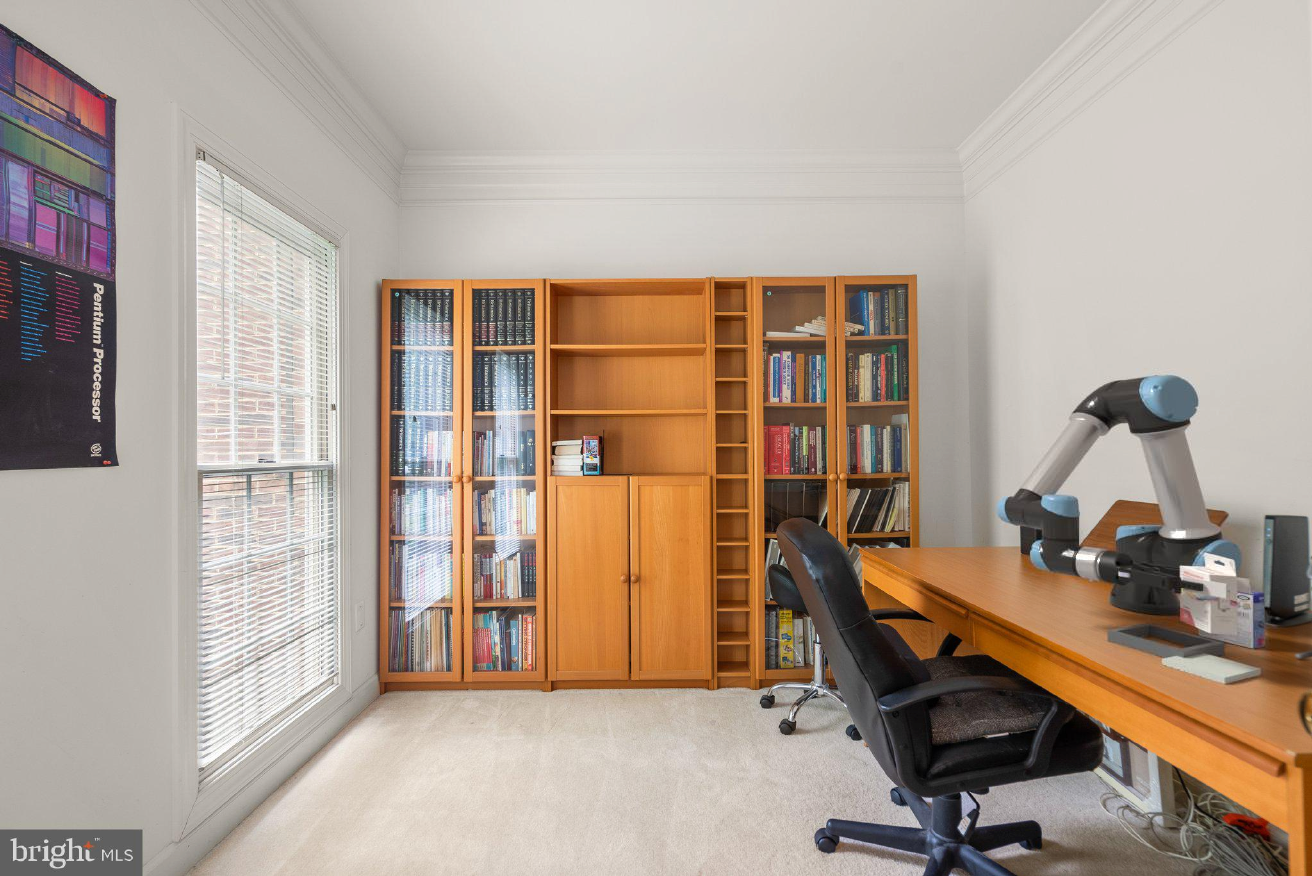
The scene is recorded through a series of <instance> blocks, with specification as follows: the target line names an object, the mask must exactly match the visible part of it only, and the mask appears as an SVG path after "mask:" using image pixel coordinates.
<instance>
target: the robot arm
mask: <svg viewBox="0 0 1312 876" xmlns="http://www.w3.org/2000/svg"><path fill="white" fill-rule="evenodd" d="M1197 407H1199V396H1198V393H1197V391H1196V390H1195V388H1194V387H1193V384H1191V383H1190V382H1189V381H1188V380H1187V379H1185V378H1182V377H1180V376H1177V375H1173V374H1172V375H1170V374H1165V375H1161V374H1159V375H1157V374H1155V375H1148V376H1143V377H1135V378H1128V379H1119V380H1113V381H1109V382H1107V383H1105V384H1102V385H1101V386H1099V387H1098V388H1096V389H1094V390H1093V391H1092V392H1091V393H1089V395H1086V397H1085V398H1084V399H1083V400H1081V402H1080V403H1079V404H1078V405H1077V406H1076V407H1075V408H1074V410H1072V412H1071V413H1070V415H1069V417H1068V420H1069V423H1068V424H1067V426H1066V427H1065V429H1064V430H1063V431H1062V432H1061V433H1060V435H1059V436H1058V438H1057V439H1056V440H1055V442H1053V444H1052V446H1051V447H1050V448H1049V450H1048V451H1047V452H1046V453H1045V454H1044V456H1043V457H1042V458H1041V460H1040V461H1039V463H1038V464H1037V465H1036V467H1035V468H1034V469H1033V470H1032V472H1031V473H1030V474H1029V476H1028V477H1027V478H1026V479H1025V481H1024V482H1023V483H1022V485H1020V487H1019V489H1018V490H1017V491H1016V492H1015V494H1014V495H1013V496H1012V495H1011V496H1006V497H1003V498H1001V499H1000V500H999V501H998V502H997V505H996V514H997V516H998V517H999V519H1000V520H1001V521H1002V522H1004V523H1006V524H1010V525H1014V526H1016V527H1017V526H1021V527H1026V528H1031V529H1036V530H1041V539H1038V540H1036V541H1035V542H1033V543H1032V545H1031V550H1030V551H1029V552H1030V553H1029V556H1030V557H1029V559H1030V561H1031V564H1033V566H1034V567H1035V568H1037V569H1039V570H1043V571H1047V572H1050V573H1053V574H1060V575H1066V576H1072V577H1078V578H1082V579H1088V581H1089V582H1091V583H1094V582H1095V581H1098V582H1104V583H1107V584H1112V585H1113V586H1112V587H1111V591H1110V593H1109V603H1110V604H1111V605H1113V606H1114V607H1116V608H1119V609H1123V610H1127V611H1132V612H1137V613H1140V614H1141V613H1143V614H1148V615H1158V616H1176V615H1180V597H1179V595H1180V594H1181V588H1183V591H1189V592H1194V593H1199V594H1205V595H1210V596H1215V597H1221V598H1228V584H1225V583H1219V582H1213V581H1207V580H1201V579H1195V578H1189V577H1183V580H1181V577H1180V566H1199V567H1205V559H1204V553H1209V554H1212V555H1217V556H1221V557H1224V558H1228V559H1232V560H1234V561H1235V567H1236V576H1237V574H1238V573H1239V571H1240V569H1241V567H1242V563H1243V556H1242V552H1241V548H1240V546H1239V545H1237V544H1236V543H1235V542H1233V541H1231V540H1228V539H1227V538H1226V539H1225V538H1224V537H1223V534H1222V530H1221V527H1220V526H1219V525H1217V524H1215V523H1213V522H1212V521H1210V517H1209V514H1208V510H1207V507H1206V502H1205V499H1204V496H1203V492H1202V489H1201V485H1200V481H1199V479H1198V475H1197V472H1196V468H1195V464H1194V460H1193V457H1192V453H1191V450H1190V446H1189V443H1188V439H1187V435H1186V430H1187V429H1188V428H1189V427H1190V426H1191V425H1192V423H1191V419H1192V418H1193V416H1195V415H1196V413H1197V411H1198V409H1197ZM1120 424H1127V426H1128V428H1129V429H1128V430H1129V433H1130V434H1131V435H1132V436H1135V437H1137V438H1139V439H1140V442H1141V447H1142V450H1143V454H1144V457H1145V461H1146V465H1147V468H1148V472H1149V475H1150V479H1151V482H1152V487H1153V489H1154V493H1155V497H1156V500H1157V503H1158V507H1159V510H1160V514H1161V517H1162V521H1163V525H1162V524H1161V525H1160V524H1156V525H1155V524H1139V525H1138V524H1136V525H1135V524H1133V525H1132V524H1131V525H1120V526H1119V527H1118V528H1117V530H1116V537H1115V550H1111V549H1108V550H1107V549H1105V548H1100V547H1099V548H1098V547H1093V546H1092V547H1091V546H1087V545H1086V546H1084V545H1083V546H1082V545H1080V516H1081V514H1080V507H1079V506H1080V505H1079V498H1078V497H1076V496H1074V495H1069V494H1057V493H1058V492H1059V490H1060V489H1061V488H1062V486H1063V485H1064V484H1065V482H1066V481H1067V479H1068V478H1069V477H1070V476H1071V474H1073V472H1074V471H1075V469H1076V468H1077V467H1078V465H1079V464H1080V463H1081V461H1082V460H1083V458H1085V456H1086V455H1087V454H1088V452H1089V451H1090V450H1091V448H1092V447H1093V446H1094V444H1095V443H1096V441H1097V440H1098V439H1099V438H1100V437H1104V436H1107V434H1108V433H1109V432H1110V431H1111V430H1112V429H1113V428H1114V427H1115V426H1118V425H1120ZM1214 562H1215V564H1219V565H1222V566H1225V564H1224V563H1222V562H1220V561H1219V560H1218V561H1214ZM1237 591H1239V592H1245V593H1251V591H1252V589H1251V578H1243V577H1238V576H1237ZM1178 594H1179V595H1178Z"/></svg>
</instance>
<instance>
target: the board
mask: <svg viewBox="0 0 1312 876" xmlns="http://www.w3.org/2000/svg"><path fill="white" fill-rule="evenodd" d="M1161 665H1162V666H1165V665H1166V667H1169V668H1171V667H1172V668H1171V669H1174V670H1178V669H1179V670H1178V671H1182V672H1184V671H1185V673H1189V674H1191V675H1194V674H1195V676H1197V677H1200V676H1201V678H1203V679H1208V680H1209V681H1214V682H1216V683H1220V684H1223V685H1226V684H1230V683H1235V682H1237V681H1241V680H1246V678H1247V679H1249V678H1251V679H1252V678H1253V677H1258V676H1261V675H1262V669H1261V668H1260V667H1255V666H1252V665H1248V664H1244V663H1242V662H1241V663H1240V662H1238V661H1234V660H1230V659H1227V658H1223V657H1219V656H1213V655H1209V654H1205V653H1203V654H1199V655H1194V656H1190V657H1185V658H1182V657H1179V656H1173V657H1168V658H1162V659H1161Z"/></svg>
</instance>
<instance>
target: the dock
mask: <svg viewBox="0 0 1312 876" xmlns="http://www.w3.org/2000/svg"><path fill="white" fill-rule="evenodd" d="M1106 631H1107V633H1106V634H1107V642H1110V643H1113V644H1117V645H1121V646H1124V647H1126V646H1127V648H1130V649H1133V648H1134V649H1133V650H1136V649H1138V650H1137V651H1141V652H1143V651H1145V652H1144V653H1147V654H1150V653H1151V654H1150V655H1154V656H1157V655H1158V656H1157V657H1160V656H1161V657H1160V658H1162V659H1164V658H1168V657H1173V656H1179V657H1182V658H1185V657H1190V656H1194V655H1199V654H1203V653H1205V654H1209V655H1213V656H1216V657H1219V656H1224V655H1226V653H1225V652H1226V650H1225V644H1226V642H1223V641H1219V640H1214V639H1210V638H1206V637H1202V636H1199V635H1195V634H1192V633H1188V632H1184V631H1180V630H1175V629H1173V628H1172V629H1171V628H1168V627H1164V626H1161V625H1156V624H1152V623H1148V622H1146V623H1145V622H1144V623H1141V624H1134V625H1128V626H1123V627H1117V628H1112V629H1107V630H1106ZM1149 636H1150V637H1154V638H1158V639H1161V640H1164V641H1168V640H1169V641H1168V642H1172V643H1175V642H1177V643H1176V644H1180V645H1183V644H1184V646H1186V647H1183V648H1177V647H1175V646H1171V645H1168V644H1164V643H1160V642H1157V641H1153V640H1150V639H1146V638H1144V637H1149ZM1190 646H1191V647H1190Z"/></svg>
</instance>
